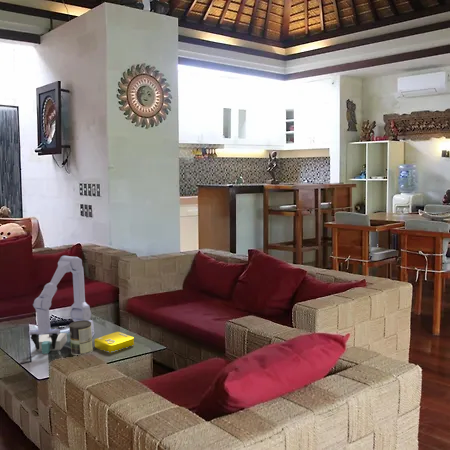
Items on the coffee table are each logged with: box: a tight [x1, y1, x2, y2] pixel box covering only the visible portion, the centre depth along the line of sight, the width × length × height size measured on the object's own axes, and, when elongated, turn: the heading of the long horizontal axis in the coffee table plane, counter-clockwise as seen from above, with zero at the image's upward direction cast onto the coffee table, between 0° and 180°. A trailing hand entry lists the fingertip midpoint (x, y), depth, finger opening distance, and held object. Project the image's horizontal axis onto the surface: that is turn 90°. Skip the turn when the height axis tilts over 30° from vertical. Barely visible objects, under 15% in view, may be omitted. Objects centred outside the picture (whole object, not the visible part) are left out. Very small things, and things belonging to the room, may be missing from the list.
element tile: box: [93, 331, 135, 352], centre depth 275 cm, size 15×15×5 cm
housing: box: [35, 332, 68, 352], centre depth 278 cm, size 12×12×4 cm
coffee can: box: [68, 320, 94, 357], centre depth 268 cm, size 10×10×14 cm
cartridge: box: [41, 341, 52, 355], centre depth 274 cm, size 14×3×5 cm, turn 0°
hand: (46, 348), depth 270 cm, fingers open, 7 cm apart
